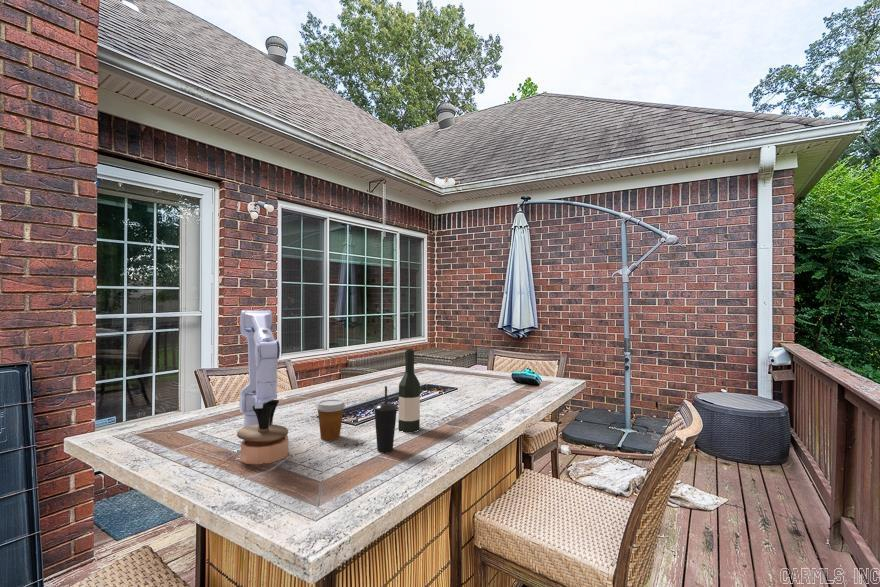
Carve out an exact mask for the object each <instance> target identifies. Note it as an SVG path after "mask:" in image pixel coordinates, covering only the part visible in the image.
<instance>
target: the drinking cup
mask: <svg viewBox="0 0 880 587" xmlns="http://www.w3.org/2000/svg"><path fill="white" fill-rule="evenodd" d="M398 409H399V405H397V404H395V403H392V402H389V401H388V386H387V385H385V386H384V402H380V403H377V404H375V405H374V406H373V410H374V423H375V435H376V436H375V437H376V450H377V452H378V451H379V452H378V453H381V452H384V453H383V454H386V452H388V453H390V452H391V453H392V451H393V450H394V442H395V433H396V432H395V431H396V430H395V429H396V421H397V414H398V413H397V410H398Z"/></svg>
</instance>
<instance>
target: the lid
mask: <svg viewBox="0 0 880 587" xmlns="http://www.w3.org/2000/svg"><path fill="white" fill-rule="evenodd" d="M269 424H270V420H269ZM288 434H289V429H288V428H287V427H286V426H283V425H278V424H274V423H273V424H271V425H268V428H267V429H260V428H259V424H258V425H251V426H246V427H244V426H243V427H241V428H239V429H238V430H237V432H236V436H237V438H238V439H239V440H240V439H243V440H246V441H255V442H264V441H273V440H278V439H281V438H284V437H285V436H288Z"/></svg>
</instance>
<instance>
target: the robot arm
mask: <svg viewBox="0 0 880 587" xmlns="http://www.w3.org/2000/svg"><path fill="white" fill-rule="evenodd" d="M239 316H240V317H239V326H240V327H239V328H240V330H239V332H240V334H241V336H242V337H244V338H246V341H247V342H246V343H247V350H248V351H247V355H248V357H247V358H248V364H247V365H248V384H247V385H245V387H242V389H241V391H240V393H239V411H240V413H241V414H243V416H244V417H243V419H244V420H243V427H246V426H251V425H258V424H259V428H260V429H267V428H268V425H271V424H273V425H274V423H273V421H274V414H275V412H276V408H277V406H278V404H279V402H280V399H278V392H277V389H278V360H280V356H281V345H280V342H279V340H277V339H275V337H274V333H273V332H272V330H271V328H272V325H273V312H272V311H271V310H270V309H268V310H245V309H242V310H241V312H240V315H239ZM269 420H270V424H269ZM242 440H243V439H240V438H239V439H238V440H237V442H238V443H242Z"/></svg>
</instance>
